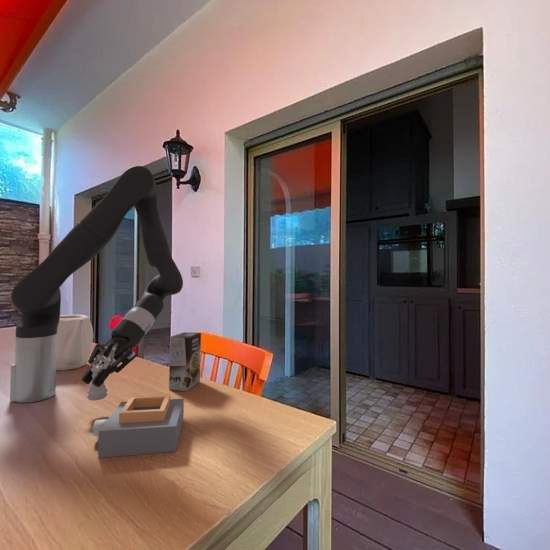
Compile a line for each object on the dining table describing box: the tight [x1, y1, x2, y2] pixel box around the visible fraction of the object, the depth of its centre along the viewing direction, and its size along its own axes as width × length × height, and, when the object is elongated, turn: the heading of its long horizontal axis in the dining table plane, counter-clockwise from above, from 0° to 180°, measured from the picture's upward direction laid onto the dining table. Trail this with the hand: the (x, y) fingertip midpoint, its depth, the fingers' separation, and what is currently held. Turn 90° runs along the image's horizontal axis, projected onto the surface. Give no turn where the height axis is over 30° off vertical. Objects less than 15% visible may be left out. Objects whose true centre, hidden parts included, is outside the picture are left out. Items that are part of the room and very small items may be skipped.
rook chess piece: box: [86, 363, 109, 402], centre depth 77 cm, size 4×4×8 cm
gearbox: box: [92, 394, 185, 459], centre depth 67 cm, size 17×14×7 cm
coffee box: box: [168, 332, 202, 392], centre depth 98 cm, size 9×6×16 cm
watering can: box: [56, 314, 94, 371], centre depth 115 cm, size 16×27×19 cm, turn 49°
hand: (90, 383), depth 76 cm, fingers closed on rook chess piece, 3 cm apart
